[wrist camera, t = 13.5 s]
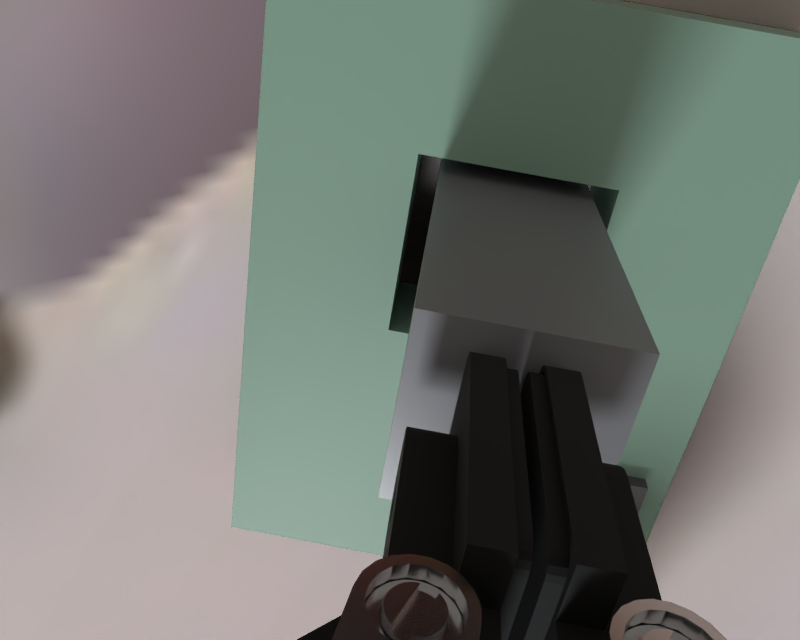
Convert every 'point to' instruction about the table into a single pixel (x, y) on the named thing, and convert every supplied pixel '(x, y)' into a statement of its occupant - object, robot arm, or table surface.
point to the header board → (504, 149)
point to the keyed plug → (520, 303)
